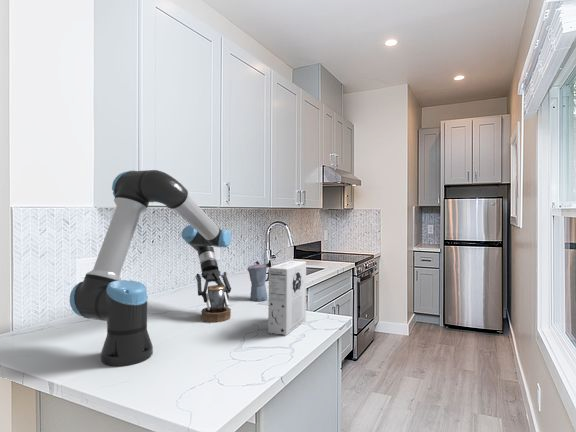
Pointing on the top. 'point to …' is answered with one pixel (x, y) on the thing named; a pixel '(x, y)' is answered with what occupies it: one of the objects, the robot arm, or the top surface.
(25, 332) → the top surface
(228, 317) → the wooden bowl
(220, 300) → the canister
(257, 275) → the moka pot
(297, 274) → the cereal box
